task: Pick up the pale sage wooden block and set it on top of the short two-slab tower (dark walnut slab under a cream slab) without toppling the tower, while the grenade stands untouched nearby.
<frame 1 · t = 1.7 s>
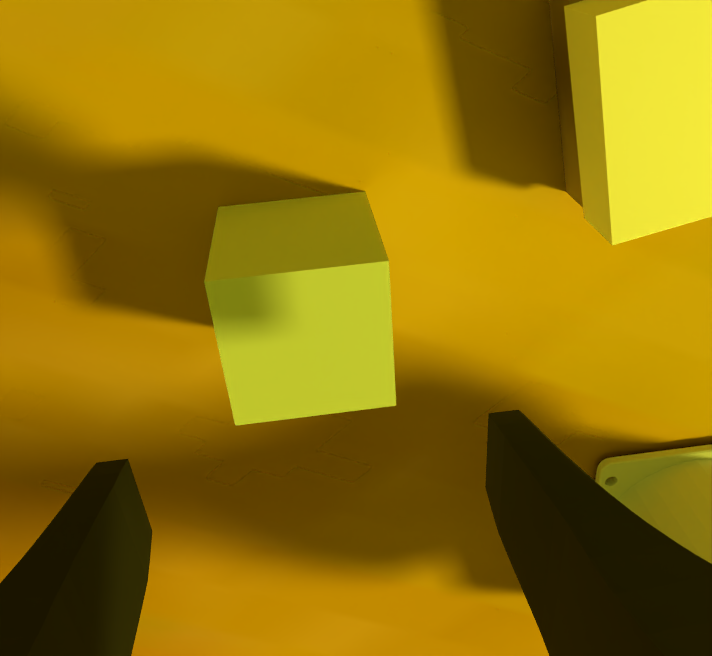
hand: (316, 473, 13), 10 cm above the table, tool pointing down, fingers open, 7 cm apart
cream slab: (681, 88, 18), point 1 cm above the table, touching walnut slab
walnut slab: (649, 65, 20), on the table, touching cream slab
sage block: (300, 264, 22), on the table
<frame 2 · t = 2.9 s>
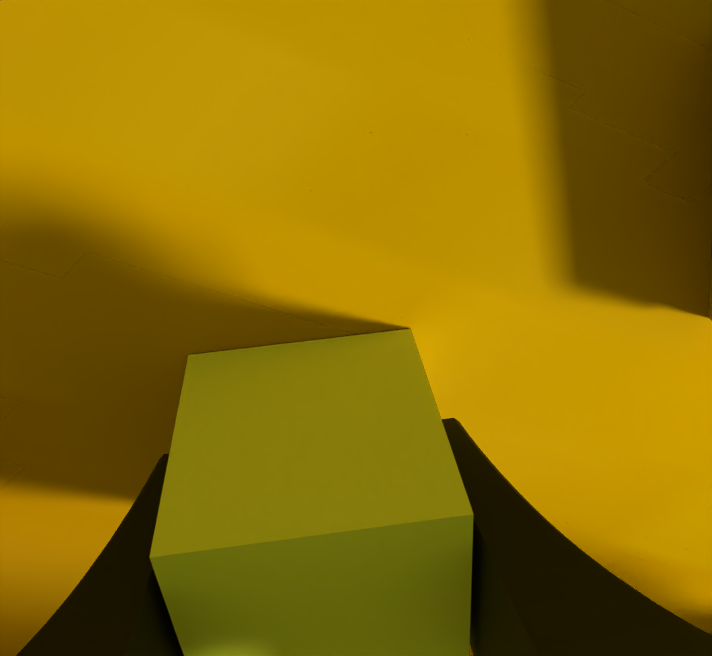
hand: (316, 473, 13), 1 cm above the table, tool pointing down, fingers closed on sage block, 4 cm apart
sage block: (312, 427, 15), on the table, touching gripper
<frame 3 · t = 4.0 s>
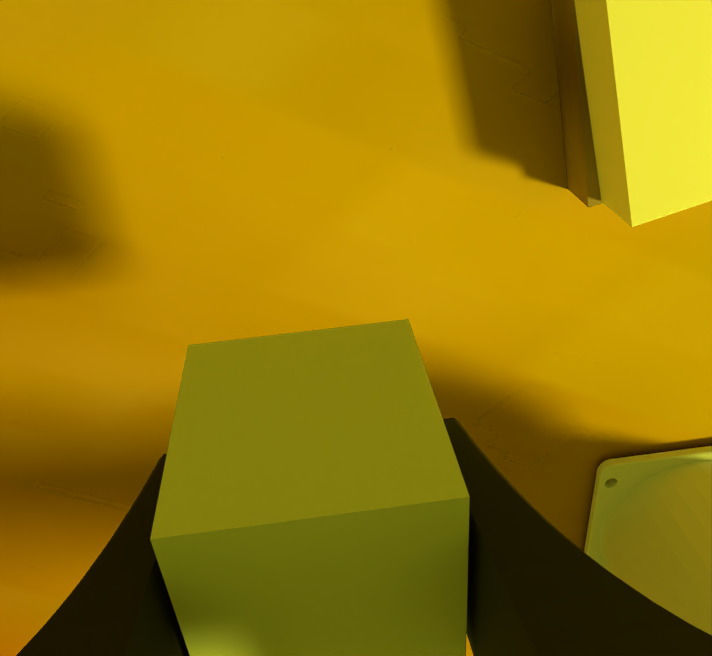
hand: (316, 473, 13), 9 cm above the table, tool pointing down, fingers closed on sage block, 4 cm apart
cream slab: (697, 63, 18), point 2 cm above the table, touching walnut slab
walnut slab: (652, 61, 20), on the table, touching cream slab
sage block: (311, 417, 15), point 8 cm above the table, touching gripper
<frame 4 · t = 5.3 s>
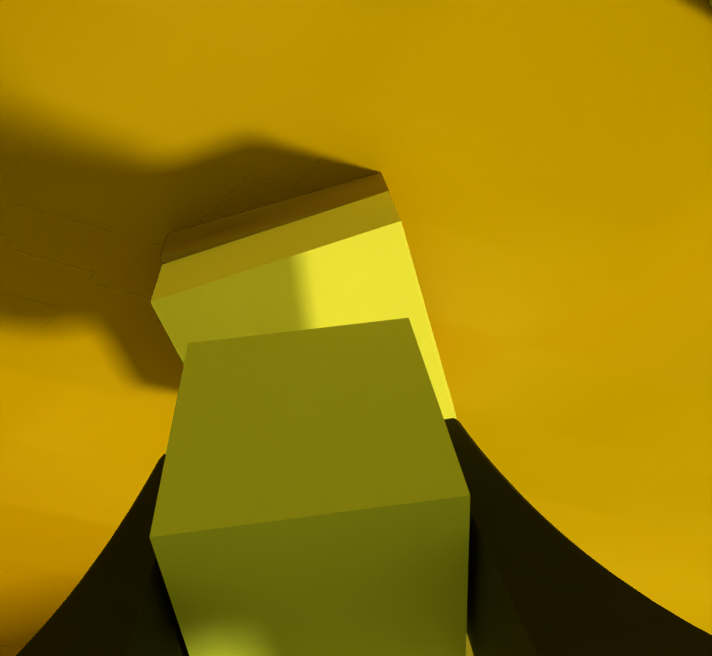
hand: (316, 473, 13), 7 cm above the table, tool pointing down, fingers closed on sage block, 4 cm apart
cream slab: (312, 324, 18), point 1 cm above the table, touching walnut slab
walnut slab: (304, 288, 20), on the table, touching cream slab
sage block: (310, 416, 15), point 6 cm above the table, touching gripper
when the fingers open (6 cm above the table, at t = 5.9 s): sage block drops 1 cm, point 3 cm above the table.
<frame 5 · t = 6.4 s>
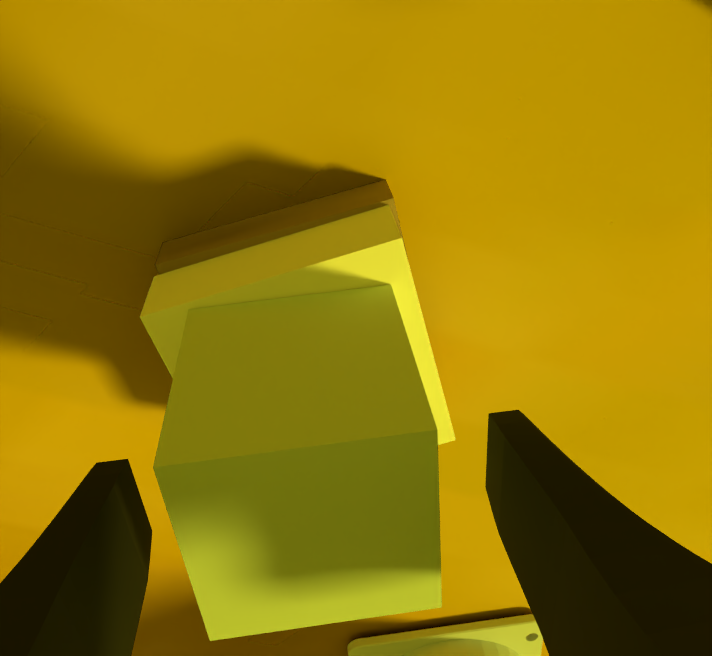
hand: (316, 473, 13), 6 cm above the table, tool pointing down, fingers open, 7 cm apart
cream slab: (308, 339, 18), point 1 cm above the table, touching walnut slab
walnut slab: (305, 296, 19), on the table, touching cream slab
sage block: (303, 379, 16), point 3 cm above the table
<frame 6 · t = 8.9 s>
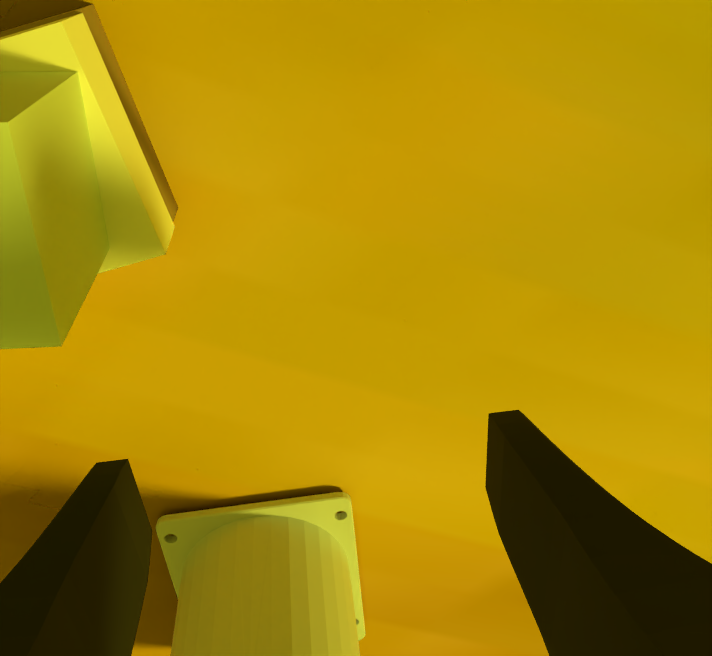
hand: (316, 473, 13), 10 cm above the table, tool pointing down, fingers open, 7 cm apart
cream slab: (29, 159, 19), point 1 cm above the table, touching sage block, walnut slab
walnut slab: (47, 136, 20), on the table, touching cream slab
sage block: (1, 167, 17), point 3 cm above the table, touching cream slab
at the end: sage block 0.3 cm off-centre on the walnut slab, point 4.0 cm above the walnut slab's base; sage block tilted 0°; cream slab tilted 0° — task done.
